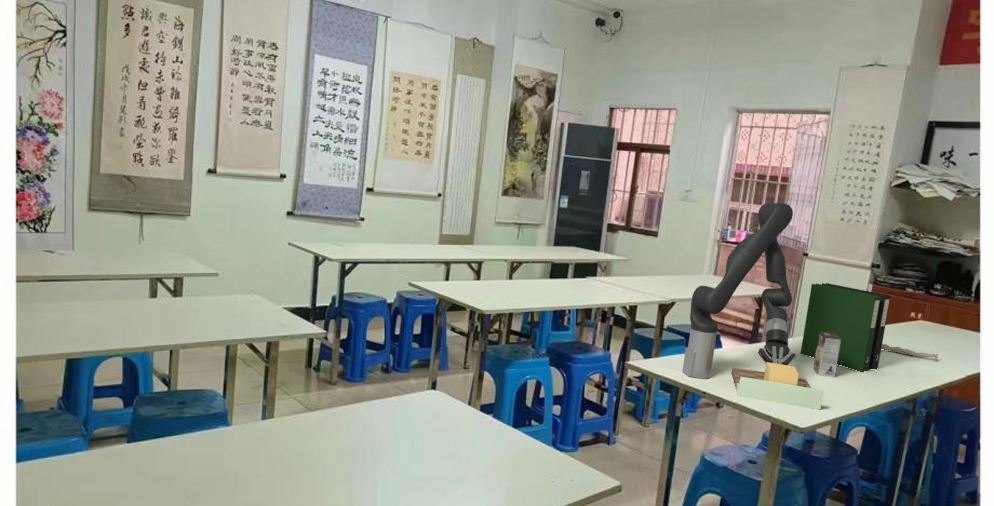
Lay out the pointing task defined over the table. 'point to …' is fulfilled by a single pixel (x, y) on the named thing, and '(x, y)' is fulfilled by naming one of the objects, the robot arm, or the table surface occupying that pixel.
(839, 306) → the binder
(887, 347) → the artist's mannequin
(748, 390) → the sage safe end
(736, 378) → the board
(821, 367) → the coffee box
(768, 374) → the ochre block
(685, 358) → the robot arm
